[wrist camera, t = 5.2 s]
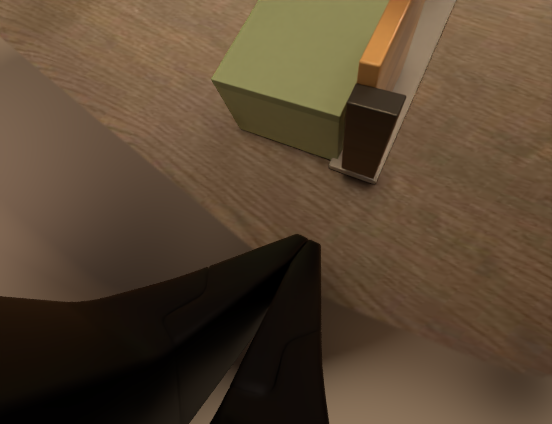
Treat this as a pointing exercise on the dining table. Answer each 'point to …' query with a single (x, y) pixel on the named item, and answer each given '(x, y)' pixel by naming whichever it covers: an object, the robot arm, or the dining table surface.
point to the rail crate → (314, 69)
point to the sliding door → (378, 88)
